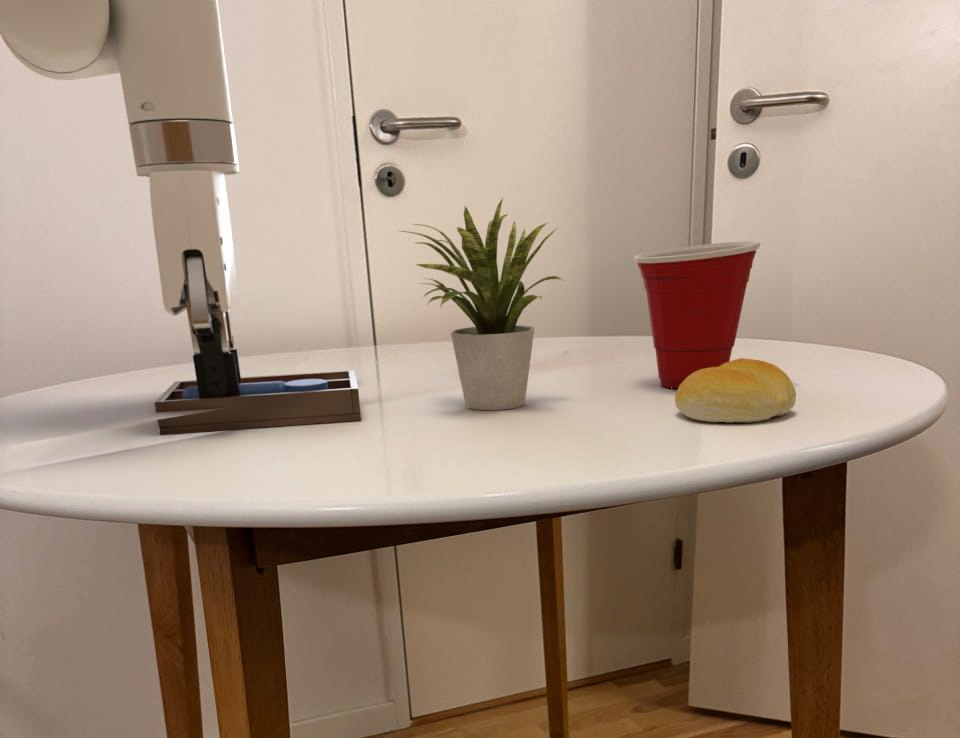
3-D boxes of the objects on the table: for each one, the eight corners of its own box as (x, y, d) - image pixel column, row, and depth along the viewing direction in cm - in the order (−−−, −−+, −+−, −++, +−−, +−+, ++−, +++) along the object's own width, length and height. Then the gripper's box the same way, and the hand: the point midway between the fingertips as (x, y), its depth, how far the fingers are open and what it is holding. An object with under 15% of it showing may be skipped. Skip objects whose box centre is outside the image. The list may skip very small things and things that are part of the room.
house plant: (412, 392, 89) (398, 203, 82) (556, 385, 89) (555, 196, 82) (407, 422, 76) (390, 200, 69) (576, 413, 76) (576, 191, 69)
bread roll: (655, 416, 73) (656, 364, 72) (727, 400, 78) (730, 351, 77) (741, 430, 67) (745, 373, 66) (814, 411, 72) (819, 358, 71)
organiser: (159, 435, 75) (153, 402, 74) (179, 410, 85) (174, 381, 84) (361, 420, 77) (358, 388, 76) (357, 398, 87) (354, 369, 86)
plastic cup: (615, 380, 90) (617, 246, 85) (720, 372, 92) (728, 240, 87) (654, 399, 81) (658, 248, 76) (771, 389, 82) (783, 241, 77)
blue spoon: (181, 410, 76) (177, 390, 75) (187, 403, 79) (183, 384, 78) (328, 401, 77) (326, 381, 76) (328, 394, 80) (326, 375, 80)
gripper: (151, 161, 77) (188, 390, 84) (112, 146, 63) (161, 423, 70) (244, 159, 78) (273, 385, 85) (226, 143, 63) (262, 416, 71)
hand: (222, 400), depth 78 cm, fingers closed on blue spoon, 1 cm apart
